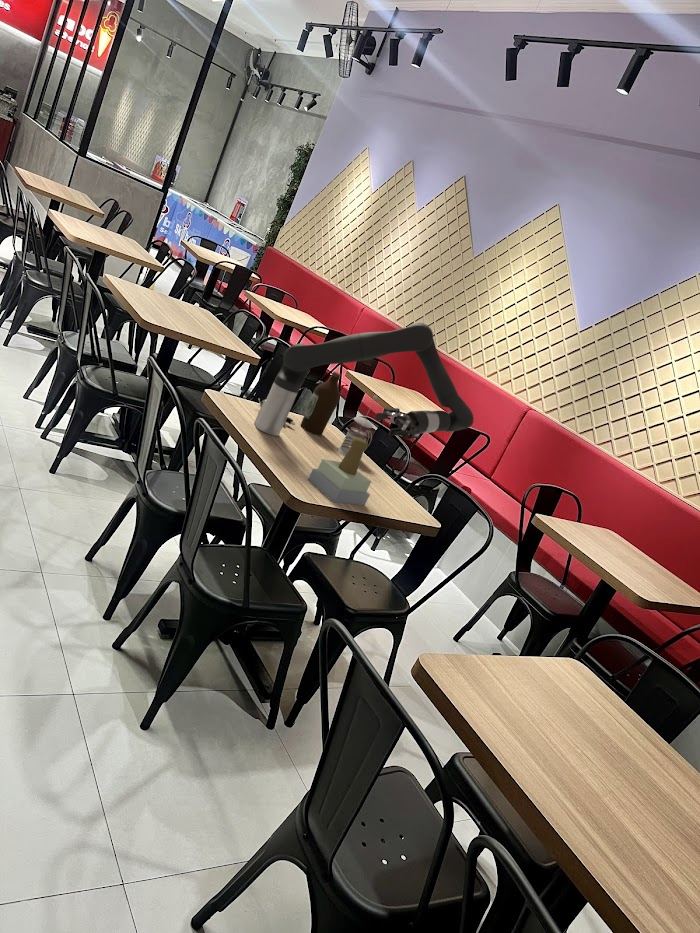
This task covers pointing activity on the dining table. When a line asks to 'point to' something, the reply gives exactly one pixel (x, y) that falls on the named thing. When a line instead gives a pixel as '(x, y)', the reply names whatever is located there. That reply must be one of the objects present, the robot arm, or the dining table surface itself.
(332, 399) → the olive oil
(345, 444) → the french press
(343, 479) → the green and grey box
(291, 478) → the dining table surface
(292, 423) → the robot toy
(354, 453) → the olive pepper mill
